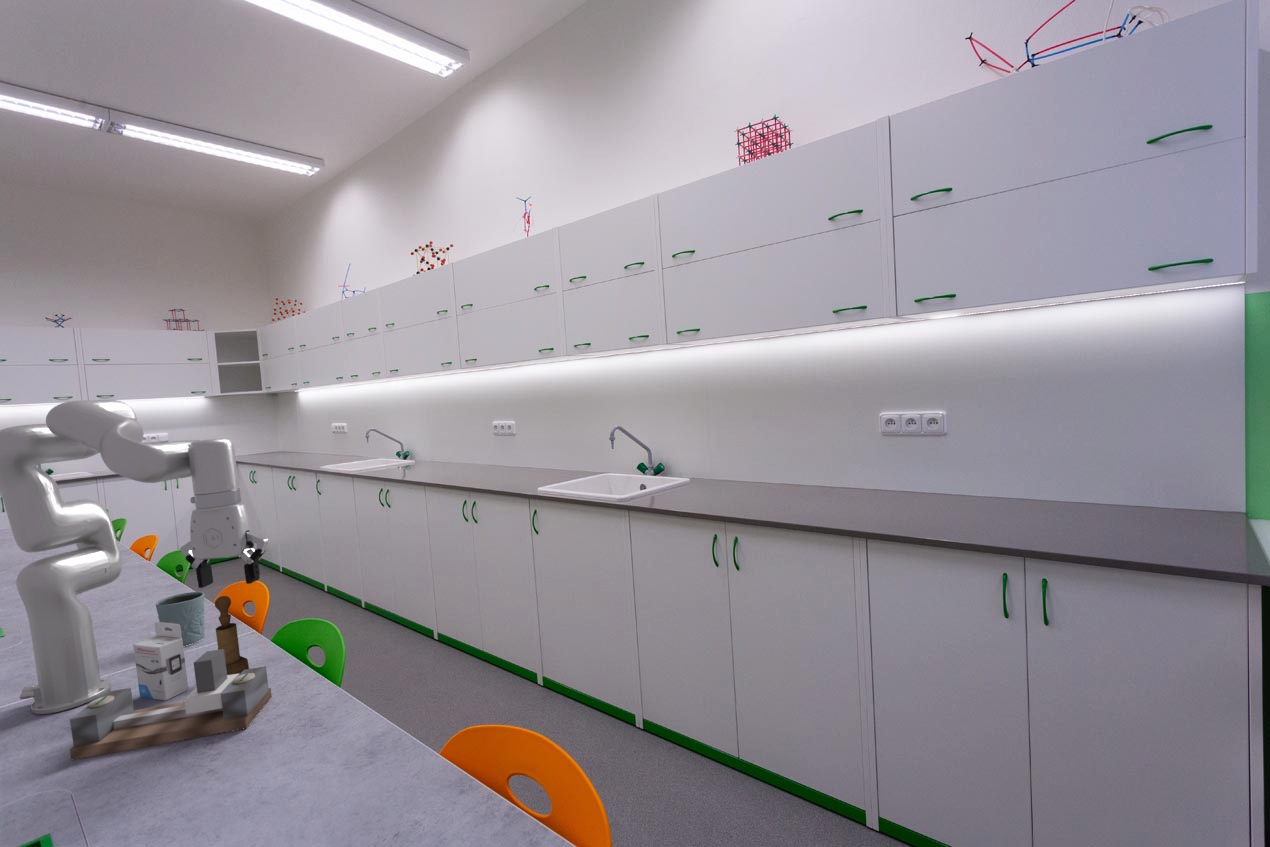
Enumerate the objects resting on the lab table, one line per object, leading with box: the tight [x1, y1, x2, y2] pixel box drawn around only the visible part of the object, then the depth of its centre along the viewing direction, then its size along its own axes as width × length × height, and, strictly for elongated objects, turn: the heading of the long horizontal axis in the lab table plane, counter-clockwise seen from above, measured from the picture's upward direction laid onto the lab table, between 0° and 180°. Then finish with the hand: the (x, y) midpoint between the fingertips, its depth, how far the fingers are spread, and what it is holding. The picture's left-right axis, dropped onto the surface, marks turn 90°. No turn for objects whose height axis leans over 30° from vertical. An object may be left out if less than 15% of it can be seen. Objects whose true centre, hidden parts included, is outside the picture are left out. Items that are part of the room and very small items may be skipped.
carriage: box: [183, 649, 239, 714], centre depth 114 cm, size 6×8×9 cm
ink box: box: [132, 621, 189, 701], centre depth 127 cm, size 9×5×15 cm, turn 71°
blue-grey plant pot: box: [155, 591, 205, 646], centre depth 156 cm, size 10×10×12 cm
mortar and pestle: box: [214, 595, 250, 675], centre depth 134 cm, size 7×6×18 cm
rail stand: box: [69, 666, 273, 760], centre depth 113 cm, size 28×12×8 cm, turn 102°
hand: (229, 583), depth 119 cm, fingers open, 9 cm apart
